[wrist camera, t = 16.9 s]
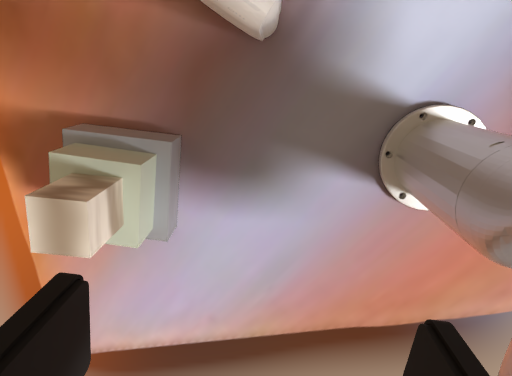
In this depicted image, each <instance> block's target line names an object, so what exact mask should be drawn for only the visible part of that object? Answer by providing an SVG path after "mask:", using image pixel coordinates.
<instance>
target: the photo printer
mask: <svg viewBox="0 0 512 376" xmlns="http://www.w3.org/2000/svg"><path fill="white" fill-rule="evenodd" d="M200 1H202V2H203V3H204V4H205V5H207V6H208V7H209V8H211V9H212V10H213V11H215V12H216V13H218V14H219V15H220V16H222V17H223V18H224V19H226V20H227V21H229V22H230V23H232V24H233V25H235V26H236V27H238V28H239V29H241V30H242V31H244V32H245V33H247V34H248V35H250V36H252V37H254V38H256V39H258V40H260V41H263V40H264V38H267V37H269V36H270V35H272V34H273V33H274V31H275V30H276V28H277V26H278V21H279V14H280V12H281V2H282V0H200Z"/></svg>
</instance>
